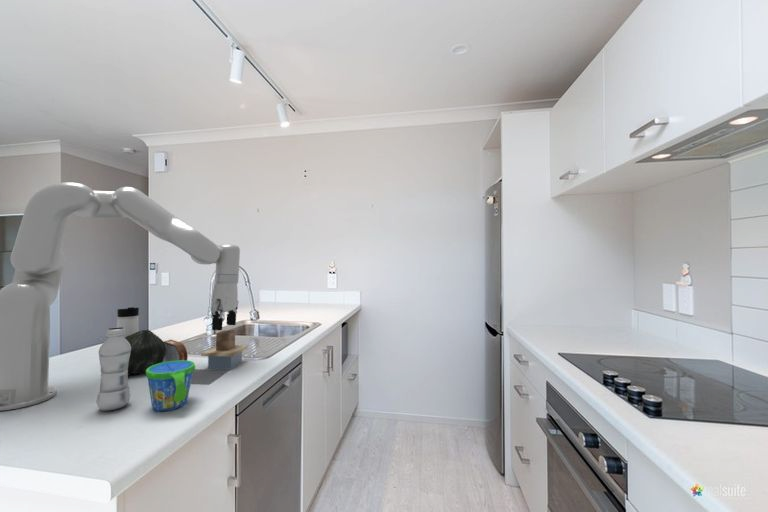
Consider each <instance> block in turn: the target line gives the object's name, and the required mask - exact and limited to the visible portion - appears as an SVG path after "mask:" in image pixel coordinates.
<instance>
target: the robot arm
mask: <svg viewBox="0 0 768 512" xmlns="http://www.w3.org/2000/svg"><path fill="white" fill-rule="evenodd" d="M71 216H74V217H77V218H84V219H87V218H90V219H91V218H92V219H93V218H95V219H96V218H97V219H98V218H99V219H101V218H105V219H106V218H107V219H108V218H109V219H110V218H112V219H113V218H115V219H117V218H118V219H119V218H128V219H130V220H131V221H133V222H134V223H136V224H137V225H139V226H140V227H142V228H143V229H144V230H146V231H147V232H149V233H150V234H152V235H153V236H154V237H156V238H158V239H160V240H162V241H164V242H166V243H167V242H168V243H170V244H172V245H174V246H175V247H177V248H179V250H182V251H183V252H184V253H187V255H189V256H190V258H191V260H192V261H193V262H194V263H196V264H198V265H212V264H215V276H214V285H213V290H212V295H211V296H212V297H211V305H210V311H211V312H210V314H211V319H212V323H211V324H212V326H211V329H212V331H223V322H224V321H223V320H224V317H223V314H224V313H226V312H227V314H226V325H227V326H236V325H237V324H236V323H237V314H238V311H237V310H238V309H239V308H238V307H239V300H238V298H239V296H238V284H239V278H240V277H239V274H240V257H241V256H240V254H241V249H240V246H239V245H236V244H235V245H234V244H219V245H217V244H216V243H214V242H213V241H212V240H211V239H210V238H208V237H207V236H205V235H204V234H203V233H201V232H200V231H198V230H197V229H195V228H194V227H192V226H190V225H189V224H188V223H185V222H184V221H183V220H182V219H180V218H178V217H177V216H175V214H172V213H171V212H170V211H169V210H167V209H165V208H164V207H163V206H162V205H160V204H159V203H158V202H156V201H155V200H153V199H152V198H151V197H149V196H148V195H147V194H146V193H144V192H143V191H141V190H140V189H138V188H135V187H132V186H121V187H120V188H117V189H116V190H115V191H114V190H112V191H111V190H110V191H109V190H93V189H92V188H90V186H87V185H86V184H84V183H79V182H72V181H67V182H66V181H65V182H63V181H62V182H56V183H53V184H49V185H46V186H44V187H43V188H41V189H39V190H38V191H36V192H35V193H34V194H33V196H31V197H30V199H29V200H28V202H27V204H26V206H25V209H24V212H23V215H22V219H21V221H20V225H19V228H18V231H17V235H16V239H15V241H14V244H13V248H12V251H11V253H10V257H9V258H10V263H11V265H12V267H13V268H14V269H15V270H14V274H13V277H12V278H13V279H12V282H10V283H8V284H7V285H5V286H4V287H2V288H0V412H1V411H10V410H16V409H20V408H26V407H29V406H33V405H37V404H39V403H42V402H45V401H47V400H50V399H51V398H53V397H55V396H56V394H57V389H56V388H54V387H50V386H49V375H50V373H49V372H50V371H49V369H50V347H51V344H50V342H51V341H50V340H51V336H50V335H51V316H50V315H51V314H50V313H51V312H50V311H51V306H52V304H54V303H55V301H56V299H57V296H58V292H59V289H60V284H61V282H62V281H61V280H62V276H63V273H64V268H65V264H66V254H65V252H64V250H63V249H62V245H63V241H64V237H65V235H66V234H65V233H66V230H67V225H68V222H69V219H70V218H71ZM222 317H223V318H222Z"/></svg>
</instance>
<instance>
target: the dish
mask: <svg viewBox="0 0 768 512" xmlns="http://www.w3.org/2000/svg"><path fill="white" fill-rule="evenodd" d="M242 357H243V351H242V352H240V353H238V354H237V355H235V356H233V357H232V356H207V369H219V370H231V369H234V367H236V366H238V365H239V364H241V362H242V361H243V358H242Z"/></svg>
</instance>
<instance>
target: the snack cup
mask: <svg viewBox="0 0 768 512" xmlns="http://www.w3.org/2000/svg"><path fill="white" fill-rule="evenodd" d="M194 369H196V364H195V362H194V361H192V360H188V359H187V360H176V361H168V362H162V363H158V364H155V365H152V366H150V367H149V368H147V369H146V374H145V377H146V379H147V381H148V389H149V397H150V403H151V408H152V409H153V410H155V411H157V412H161V411H164V412H168V411H173V410H176V409H179V408H180V407H182V406H184V405H185V404H187V402H188V399H189V398H188V397H189V394H190V387H191V385H192V384H191V378H192V373H193V371H194Z"/></svg>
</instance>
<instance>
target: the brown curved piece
mask: <svg viewBox="0 0 768 512" xmlns="http://www.w3.org/2000/svg"><path fill="white" fill-rule="evenodd" d="M163 342H164V344H165V346H166V354H165V357H164V359H163V362H168V361H176V360H187V361H188V358H189V357H188V350H187V347H186V345H185V344H184V343H183V342H180V341H177V340H174V339H168V340H163Z"/></svg>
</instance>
